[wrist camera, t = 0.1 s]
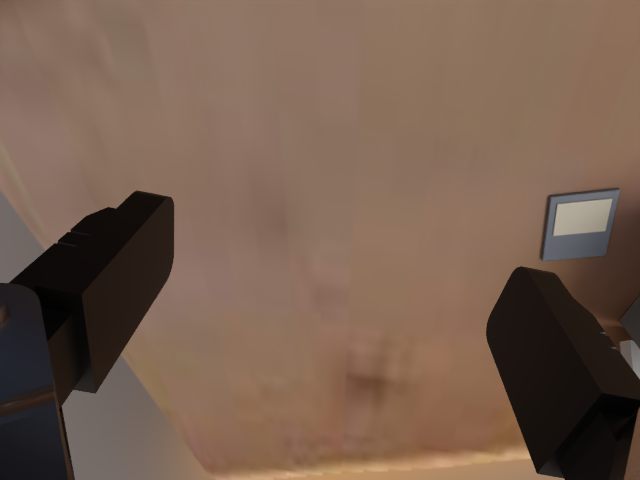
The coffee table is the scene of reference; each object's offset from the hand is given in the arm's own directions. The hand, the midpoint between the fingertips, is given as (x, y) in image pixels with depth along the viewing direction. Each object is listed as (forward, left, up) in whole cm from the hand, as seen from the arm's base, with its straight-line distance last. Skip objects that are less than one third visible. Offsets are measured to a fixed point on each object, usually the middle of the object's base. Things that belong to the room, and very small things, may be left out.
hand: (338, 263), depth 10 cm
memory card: (+6, +17, -18) cm, 25 cm away
